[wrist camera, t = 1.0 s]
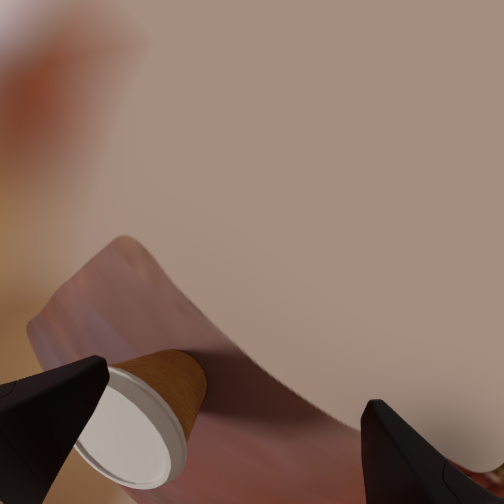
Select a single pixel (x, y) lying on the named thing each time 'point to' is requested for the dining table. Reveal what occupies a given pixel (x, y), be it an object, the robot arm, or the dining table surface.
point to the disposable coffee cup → (145, 419)
